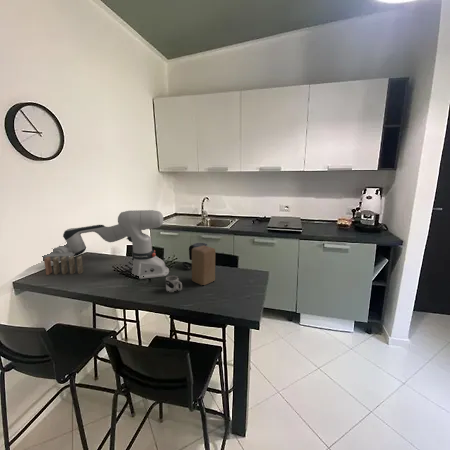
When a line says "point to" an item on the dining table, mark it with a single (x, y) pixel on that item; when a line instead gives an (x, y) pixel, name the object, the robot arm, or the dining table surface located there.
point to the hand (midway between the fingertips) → (49, 261)
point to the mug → (173, 284)
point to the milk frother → (191, 255)
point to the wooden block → (203, 265)
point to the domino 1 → (48, 265)
